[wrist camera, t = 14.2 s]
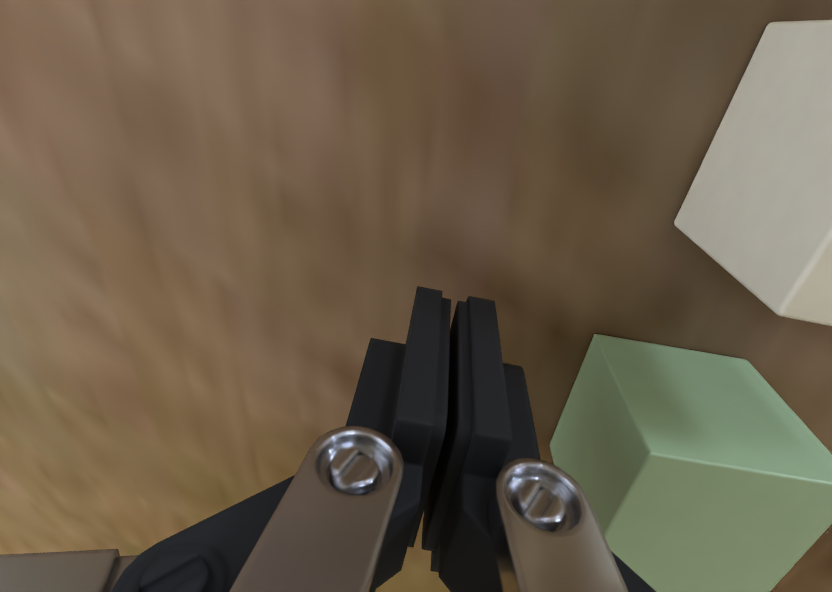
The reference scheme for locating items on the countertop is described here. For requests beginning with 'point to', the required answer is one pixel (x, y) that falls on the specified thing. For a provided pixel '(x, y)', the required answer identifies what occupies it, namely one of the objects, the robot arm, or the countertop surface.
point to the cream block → (773, 176)
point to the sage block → (693, 466)
